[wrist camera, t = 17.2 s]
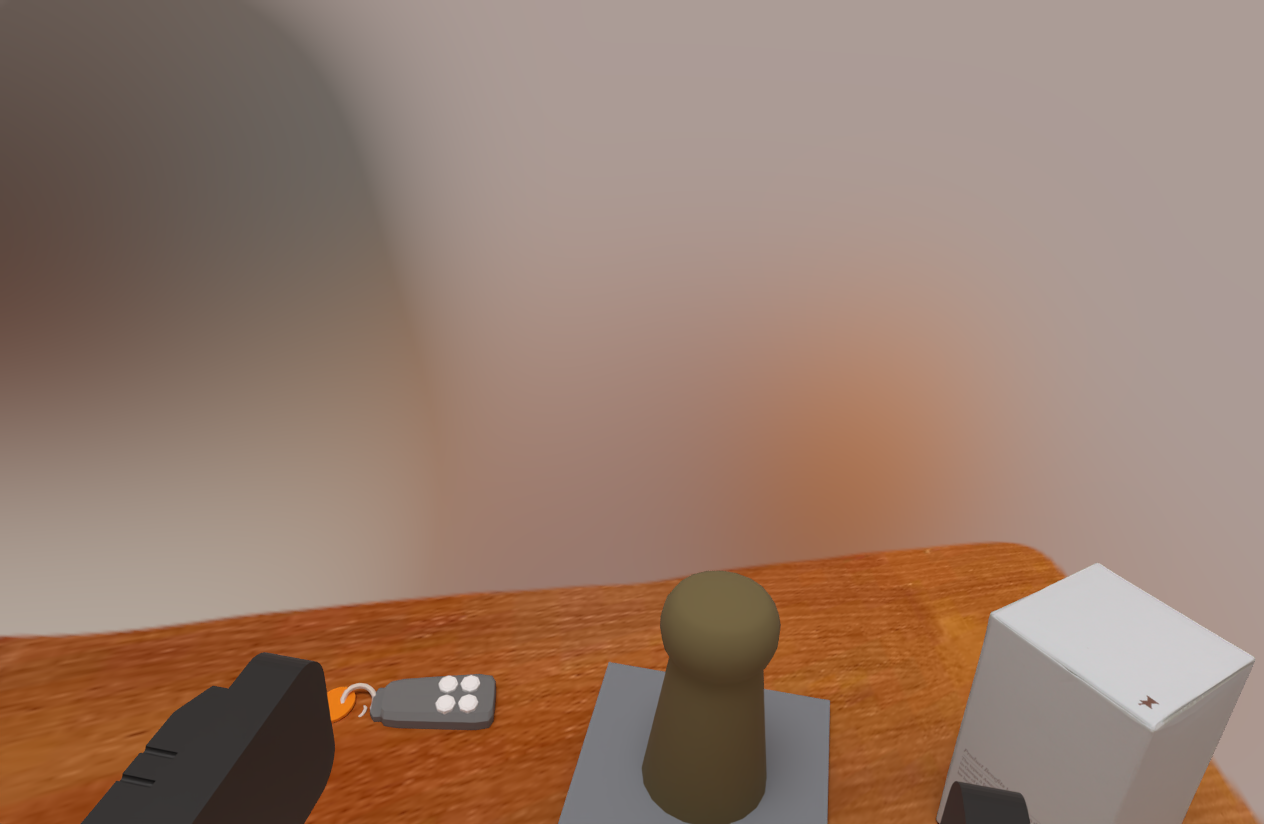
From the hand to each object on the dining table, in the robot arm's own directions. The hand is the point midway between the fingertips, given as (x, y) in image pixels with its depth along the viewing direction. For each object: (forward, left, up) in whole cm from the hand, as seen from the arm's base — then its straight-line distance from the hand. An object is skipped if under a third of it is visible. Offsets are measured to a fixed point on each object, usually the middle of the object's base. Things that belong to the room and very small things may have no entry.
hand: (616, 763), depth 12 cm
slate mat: (0, +24, -28) cm, 37 cm away
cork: (0, +24, -28) cm, 37 cm away
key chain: (-18, +25, -29) cm, 42 cm away
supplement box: (+16, +24, -28) cm, 40 cm away
